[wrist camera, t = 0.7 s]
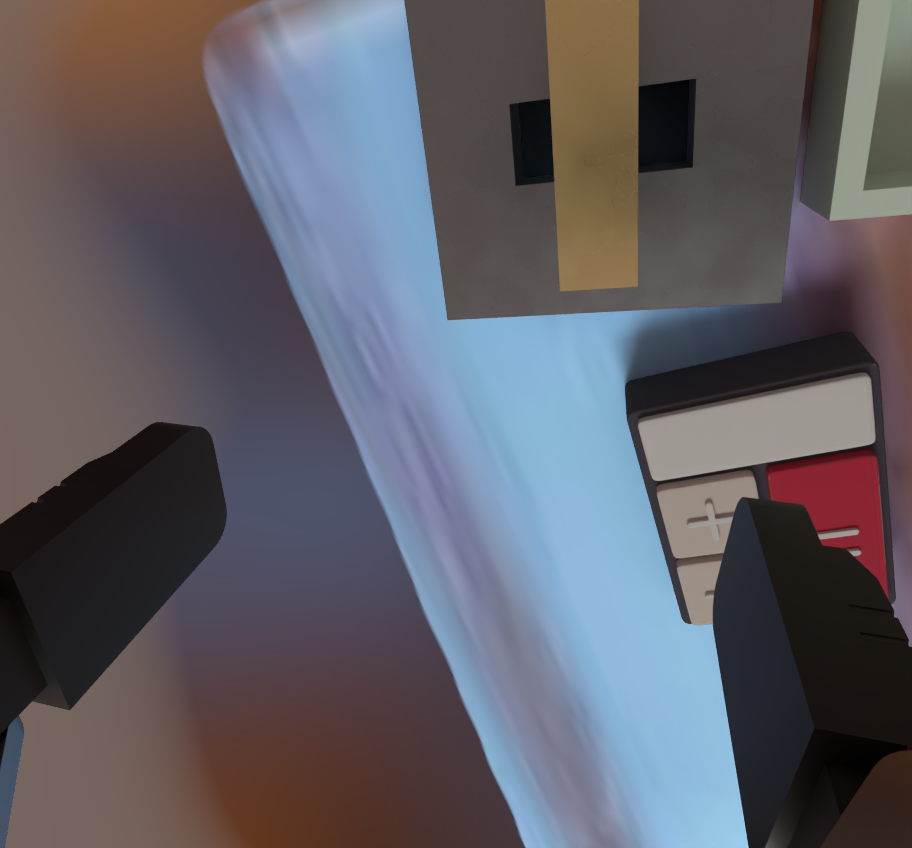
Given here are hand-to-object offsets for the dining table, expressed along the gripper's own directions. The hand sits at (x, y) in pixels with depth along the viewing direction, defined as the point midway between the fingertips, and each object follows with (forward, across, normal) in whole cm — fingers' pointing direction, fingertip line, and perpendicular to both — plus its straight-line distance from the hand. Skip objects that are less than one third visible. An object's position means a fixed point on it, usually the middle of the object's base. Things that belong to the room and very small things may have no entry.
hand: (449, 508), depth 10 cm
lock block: (+24, -1, -4) cm, 25 cm away
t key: (+25, -1, -4) cm, 25 cm away
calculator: (+25, -11, +14) cm, 31 cm away
